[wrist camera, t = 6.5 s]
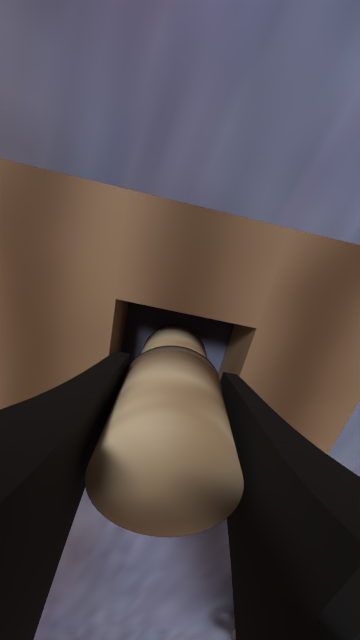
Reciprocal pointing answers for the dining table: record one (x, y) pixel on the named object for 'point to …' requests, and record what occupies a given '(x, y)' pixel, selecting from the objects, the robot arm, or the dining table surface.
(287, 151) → the dining table surface
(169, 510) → the peg
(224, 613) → the dining table surface
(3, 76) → the dining table surface
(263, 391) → the board
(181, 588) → the dining table surface
